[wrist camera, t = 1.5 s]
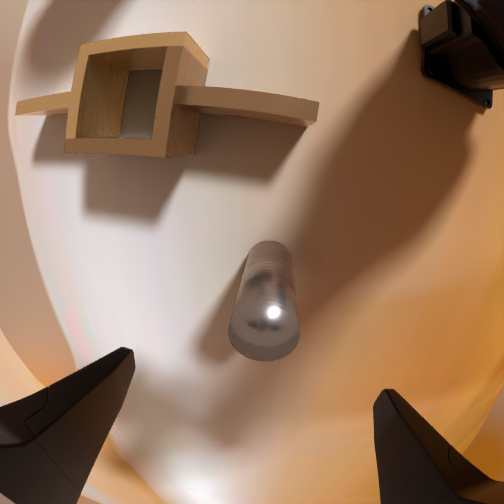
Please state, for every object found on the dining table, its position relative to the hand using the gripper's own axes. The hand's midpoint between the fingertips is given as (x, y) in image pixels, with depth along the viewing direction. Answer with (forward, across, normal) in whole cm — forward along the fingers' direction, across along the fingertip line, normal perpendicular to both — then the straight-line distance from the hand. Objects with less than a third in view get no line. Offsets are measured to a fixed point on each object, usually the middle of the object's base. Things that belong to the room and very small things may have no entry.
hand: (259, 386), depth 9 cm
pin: (+11, 0, 0) cm, 11 cm away
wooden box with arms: (+11, +9, -9) cm, 17 cm away
